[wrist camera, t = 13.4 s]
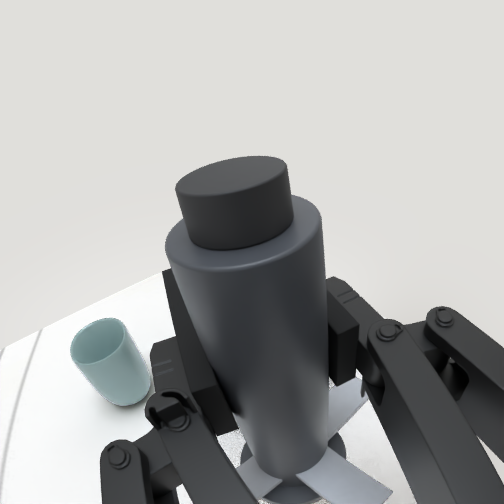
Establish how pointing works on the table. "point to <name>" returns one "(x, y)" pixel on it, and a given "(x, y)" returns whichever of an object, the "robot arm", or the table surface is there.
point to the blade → (268, 328)
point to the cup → (111, 361)
